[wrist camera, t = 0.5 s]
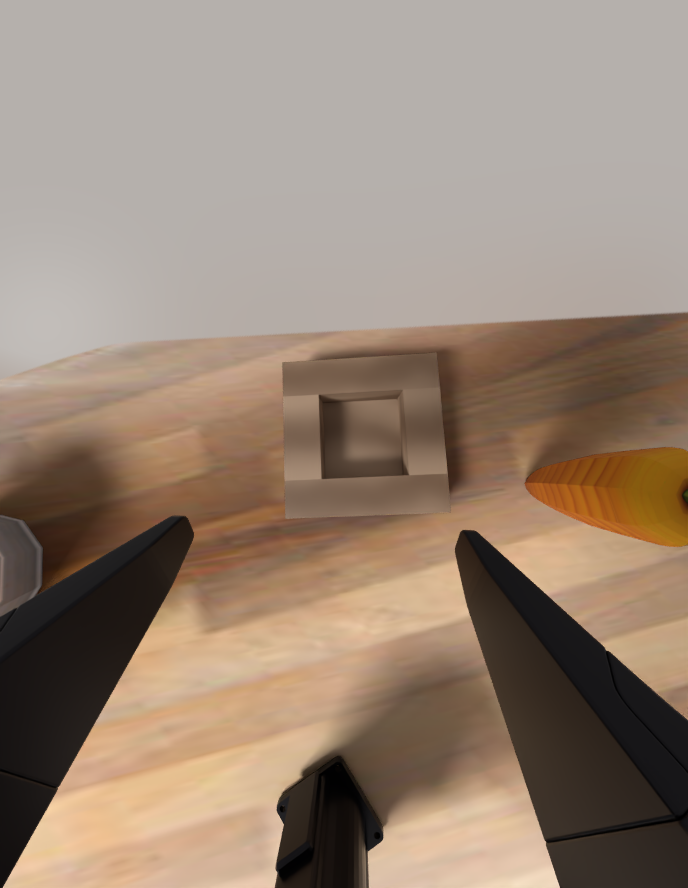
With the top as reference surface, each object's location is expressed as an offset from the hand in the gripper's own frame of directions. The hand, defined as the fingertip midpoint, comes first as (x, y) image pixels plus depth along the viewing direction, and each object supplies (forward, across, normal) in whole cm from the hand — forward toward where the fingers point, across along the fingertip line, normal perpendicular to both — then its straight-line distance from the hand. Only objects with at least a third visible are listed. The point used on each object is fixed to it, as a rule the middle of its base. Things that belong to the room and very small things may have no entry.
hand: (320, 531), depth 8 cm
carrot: (+13, -17, +8) cm, 23 cm away
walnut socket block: (+15, -2, +5) cm, 16 cm away
